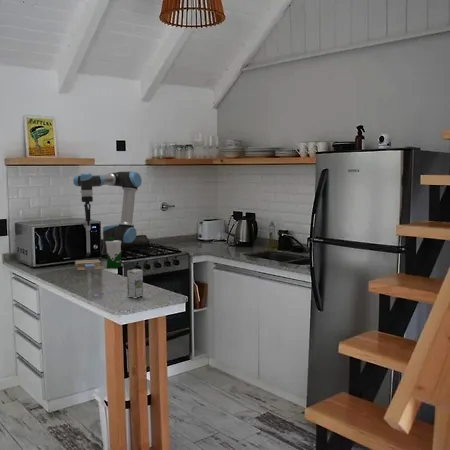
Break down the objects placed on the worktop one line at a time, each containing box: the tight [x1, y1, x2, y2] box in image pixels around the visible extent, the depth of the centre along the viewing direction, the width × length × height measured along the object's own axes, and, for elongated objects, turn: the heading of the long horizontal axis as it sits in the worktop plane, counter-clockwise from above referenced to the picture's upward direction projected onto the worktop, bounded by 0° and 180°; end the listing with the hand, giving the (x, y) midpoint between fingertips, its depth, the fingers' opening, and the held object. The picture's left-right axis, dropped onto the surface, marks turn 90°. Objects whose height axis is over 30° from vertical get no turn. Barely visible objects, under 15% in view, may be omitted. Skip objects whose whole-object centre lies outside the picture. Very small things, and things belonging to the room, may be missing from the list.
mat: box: [76, 265, 104, 272], centre depth 364 cm, size 10×16×1 cm, turn 110°
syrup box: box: [126, 268, 144, 297], centre depth 283 cm, size 6×6×14 cm
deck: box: [74, 258, 102, 268], centre depth 374 cm, size 12×16×3 cm
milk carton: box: [106, 238, 122, 269], centre depth 367 cm, size 9×9×20 cm
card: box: [85, 264, 95, 269], centre depth 364 cm, size 9×6×2 cm, turn 19°
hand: (88, 230), depth 374 cm, fingers closed
